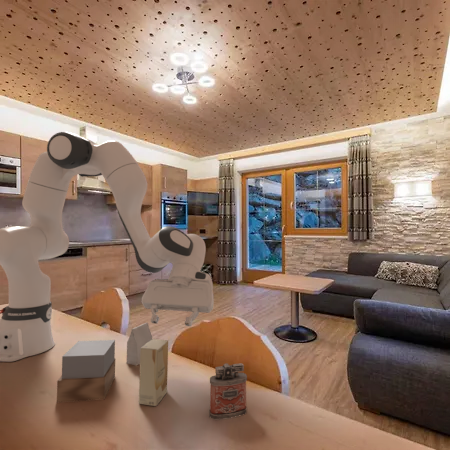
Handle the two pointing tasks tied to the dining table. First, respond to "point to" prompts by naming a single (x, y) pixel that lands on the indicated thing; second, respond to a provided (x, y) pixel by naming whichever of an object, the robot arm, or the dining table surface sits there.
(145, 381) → the skincare box
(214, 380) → the lighter
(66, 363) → the tower top block
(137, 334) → the white red printed carton
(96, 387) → the tower base block
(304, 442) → the dining table surface
